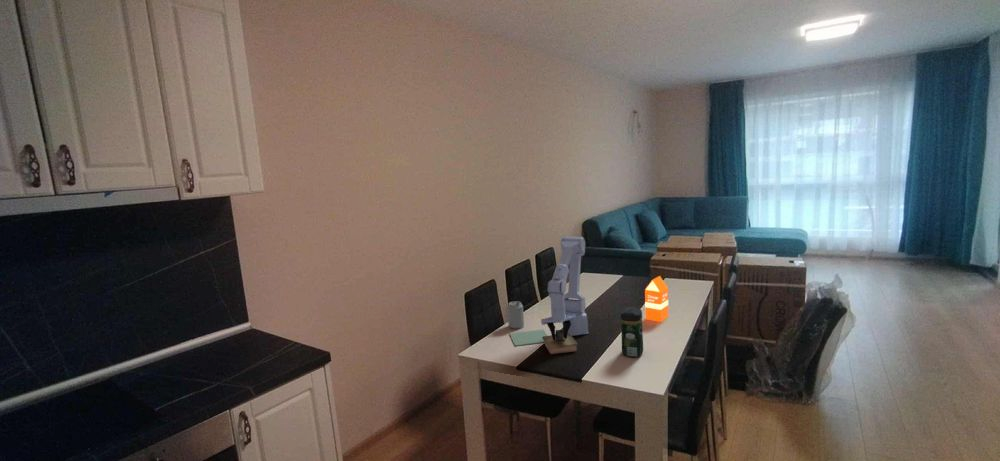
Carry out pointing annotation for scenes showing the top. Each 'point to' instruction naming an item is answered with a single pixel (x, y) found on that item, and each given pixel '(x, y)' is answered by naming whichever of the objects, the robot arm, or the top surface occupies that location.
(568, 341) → the cover
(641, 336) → the coffee jar
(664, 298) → the orange juice
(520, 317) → the can
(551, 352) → the pink square tray
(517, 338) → the mat
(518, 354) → the top surface
